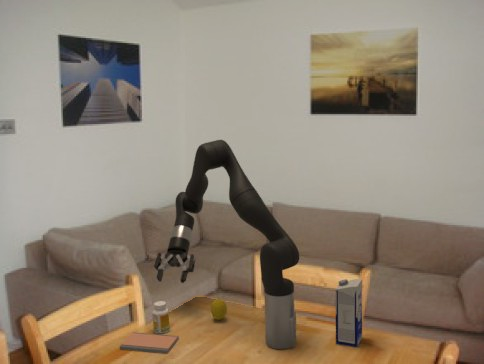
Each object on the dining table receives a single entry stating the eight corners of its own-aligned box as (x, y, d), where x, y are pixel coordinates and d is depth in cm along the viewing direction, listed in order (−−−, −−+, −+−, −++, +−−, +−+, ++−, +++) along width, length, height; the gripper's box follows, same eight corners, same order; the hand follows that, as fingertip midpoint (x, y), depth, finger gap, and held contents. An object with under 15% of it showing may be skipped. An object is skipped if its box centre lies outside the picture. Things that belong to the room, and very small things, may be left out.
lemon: (209, 318, 195) (208, 296, 193) (224, 315, 196) (223, 294, 195) (213, 324, 189) (212, 302, 188) (229, 322, 191) (228, 300, 190)
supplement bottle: (171, 326, 189) (169, 300, 187) (167, 334, 184) (165, 306, 182) (155, 326, 189) (154, 300, 188) (151, 333, 184) (149, 306, 182)
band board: (178, 338, 180) (178, 335, 180) (167, 353, 170) (167, 350, 170) (133, 335, 184) (133, 331, 184) (119, 349, 174) (119, 345, 174)
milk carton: (357, 347, 169) (357, 285, 166) (335, 344, 172) (335, 283, 169) (362, 337, 176) (362, 278, 172) (341, 334, 179) (341, 275, 175)
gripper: (158, 235, 201) (148, 275, 193) (195, 236, 198) (186, 278, 189) (165, 244, 207) (155, 284, 199) (201, 246, 204) (192, 287, 195)
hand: (170, 281), depth 194 cm, fingers open, 8 cm apart
